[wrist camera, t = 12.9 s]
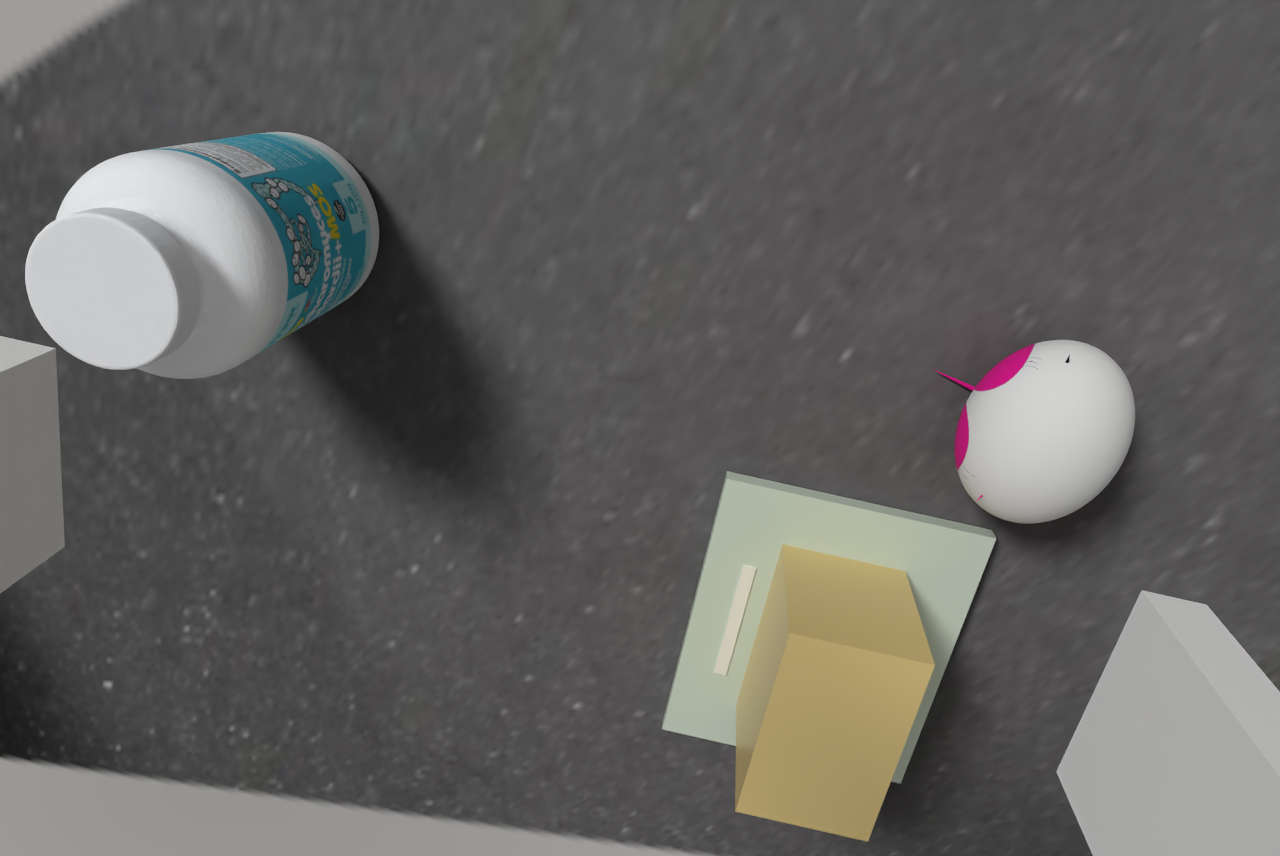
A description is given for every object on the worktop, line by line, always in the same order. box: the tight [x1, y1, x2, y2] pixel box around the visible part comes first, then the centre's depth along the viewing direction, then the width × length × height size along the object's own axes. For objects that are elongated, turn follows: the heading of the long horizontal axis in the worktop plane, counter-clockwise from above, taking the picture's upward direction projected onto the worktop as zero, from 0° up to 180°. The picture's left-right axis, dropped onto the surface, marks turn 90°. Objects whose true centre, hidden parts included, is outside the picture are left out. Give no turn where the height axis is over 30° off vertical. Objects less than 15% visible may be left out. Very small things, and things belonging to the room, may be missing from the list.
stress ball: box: [937, 340, 1135, 523], centre depth 38 cm, size 8×8×7 cm
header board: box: [662, 471, 996, 784], centre depth 43 cm, size 12×14×5 cm
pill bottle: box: [25, 132, 379, 379], centre depth 34 cm, size 8×7×14 cm
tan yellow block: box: [735, 544, 935, 841], centre depth 41 cm, size 6×9×7 cm, turn 169°
